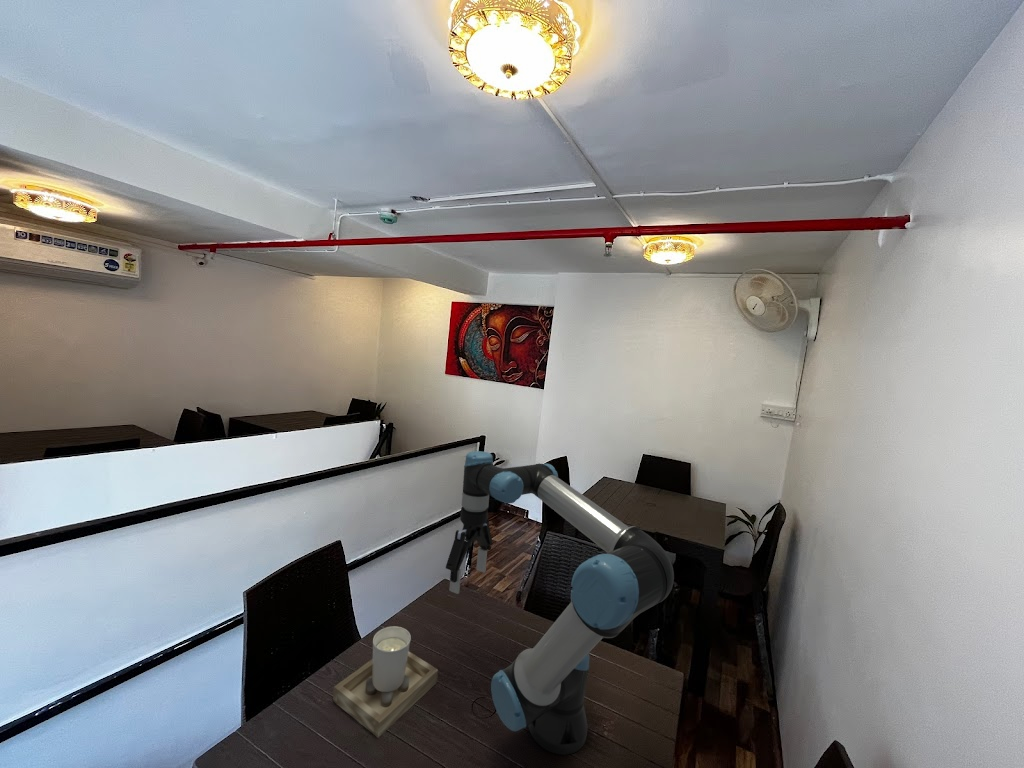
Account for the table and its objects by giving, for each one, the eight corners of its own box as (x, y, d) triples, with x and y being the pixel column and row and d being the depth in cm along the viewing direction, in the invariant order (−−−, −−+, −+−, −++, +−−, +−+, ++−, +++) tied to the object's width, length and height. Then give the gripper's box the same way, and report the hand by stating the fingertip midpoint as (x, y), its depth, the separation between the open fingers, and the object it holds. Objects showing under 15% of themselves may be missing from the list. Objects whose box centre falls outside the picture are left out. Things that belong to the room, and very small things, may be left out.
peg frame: (436, 683, 118) (438, 669, 118) (378, 738, 100) (379, 722, 100) (393, 654, 127) (395, 642, 127) (332, 701, 109) (334, 686, 109)
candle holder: (396, 699, 108) (400, 655, 107) (361, 689, 110) (365, 646, 109) (412, 671, 118) (416, 630, 116) (380, 662, 119) (384, 622, 118)
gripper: (486, 493, 130) (480, 559, 131) (436, 517, 108) (429, 596, 109) (507, 499, 127) (501, 567, 128) (460, 524, 104) (453, 607, 106)
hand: (468, 581), depth 119 cm, fingers open, 13 cm apart
